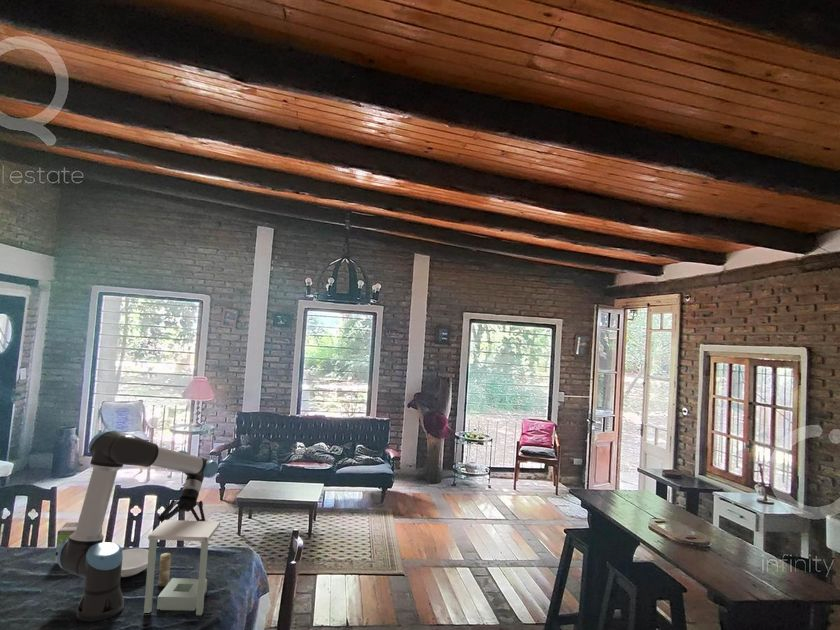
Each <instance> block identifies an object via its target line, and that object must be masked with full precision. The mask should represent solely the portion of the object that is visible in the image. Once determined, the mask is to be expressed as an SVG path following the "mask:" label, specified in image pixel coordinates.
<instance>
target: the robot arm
mask: <svg viewBox="0 0 840 630" xmlns="http://www.w3.org/2000/svg"><path fill="white" fill-rule="evenodd" d="M87 450H88V453H89V454H90V457H91V458H90V462H89V464H90V466H91V467H92V472H91V475H90V479H89V481H88V486H87V490H86V493H85V497H84V500H83V503H82V507H81V511H80V513H79V517H78V521H77V522H78V524H77V528H76V531H75V532H74V533H73V534H71V535H70V536H69V540H67V541H66V542H65V544H64V545H62V546H61V547H60V549H59V551H58V555H57V561H58V563H57V565H58V566H59V567H60V568H61V569H62V570H64V571H65V572H66V573H70V574H72V575H74V576H76V577H77V576H78V577H79V578H82V579H84V584H83V585H84V586H83V587H84V588H83V594H82V596H81V598H80V601H79V603H78V605H77V608H76V618H77V619H78V620H79V621H83V622H99V621H104V620H107V619H110V618H112V617H114V616H116V615H118V614H119V613H120V612H121V611H122V610H123V608H124V605H125V604H124V603H125V599H124V598H125V597H124V595H123V591H122V589H121V578H122V577H121V568H122V559H123V555H122V550H123V548H122V547H121V545H119V544H117V543H116V542H107V541H105V542H104V538H105V536H104V535H103V534H101V529H102V530H103V525H104V521H105V518H106V514H107V510H108V506H109V503H110V499H111V495H112V491H113V488H114V484H115V480H116V477H117V473H118V471H119V470H120V469H122V468H123V467H124V465H125V466H136V467H137V466H138V467H144V468H149V467H151V466H153V467H156V468H157V467H158V468H163V469H167V470H173V471H177V472H182V473H183V474H185V475H186V479H185V482H184V485H183V488H182V491H181V494H180V495H179V499H178V500H175V499H171V501H170V503H169V505H168V506H167V507H166V508H165V509H164V510H163V511H162V512H161V513H160V515H158V516H157V519H158V521H159V522H160V524H161V523H162V522H163V521H164V520H171V518H172V517H174V516H175V515H176V514H178V513H180V512H181V513H182V512H184V513H185V512H186V513H187V512H191V513H192V515H193V516H194V519H195V521H206V516H205V513H204V508H203V507H204V503H203V500H200V501H198V498H199V495H200V491H201V489H202V485H203V482H204V478H213V477H215V476H216V474H217V473H218V470H219V464H218V462H217V461H216V460H213V459H209V458H208V459H207V458H205V457H200V456H196V455H192V454H189V452H188V451H186V450H183V449H182V450H179V451H178V450H177V451H176V450H171V449H168V448H164V447H159V446H158V444H157V443H155V442H151V441H149V440H146V439H143V438H141V437H140V436H136V435H134V434H129V433H125V432H121V431H118V430H110V429H107V430H102V431H100V432H98V433H97V434H95V435H94V436H93V437H92V439H91V440H90V441H89V443H88V449H87ZM176 505H177V506H176ZM196 506H197V507H198V509H199V513H200V517H199V516H198V514H197V512H196V511H195V507H196ZM173 508H174V509H173ZM160 524H159V525H160Z"/></svg>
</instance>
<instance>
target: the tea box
mask: <svg viewBox="0 0 840 630" xmlns="http://www.w3.org/2000/svg"><path fill="white" fill-rule="evenodd" d="M77 524H78V521H77V522H72V521H71V522H70V521H69V522H65V523H64V525H63V526H61V528H59V529H58V531H57V533H56V535H57V536H56V546H55V555H54V556H55V558H54V564H57V565H58V561H57V555H58V551H59V549H60V547H61V546H62V545H64V544H65V542H66V541H67V540H69V536H70V535H71V534H73V533H74V532H75V531H76V528H77ZM102 533H103V528H102V529H101V534H102ZM102 535H103V534H102Z"/></svg>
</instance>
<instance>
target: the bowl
mask: <svg viewBox="0 0 840 630" xmlns="http://www.w3.org/2000/svg"><path fill="white" fill-rule="evenodd" d="M148 552H149V549H147V548H129V549H122V555H123V559H122V568H121V578H128V577H132V576H135V575H137V574H140V573H141V572H143V571H144V570H147V565H148Z"/></svg>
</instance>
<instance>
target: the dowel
mask: <svg viewBox="0 0 840 630" xmlns="http://www.w3.org/2000/svg"><path fill="white" fill-rule="evenodd" d="M171 558H172V554H171V553H170V552H164V553H161V554H160V556H159V571H158V583H157V585H158V586H159V587H166V585H167V584H168V583H169V582H170V573H171V561H172V559H171Z"/></svg>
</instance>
